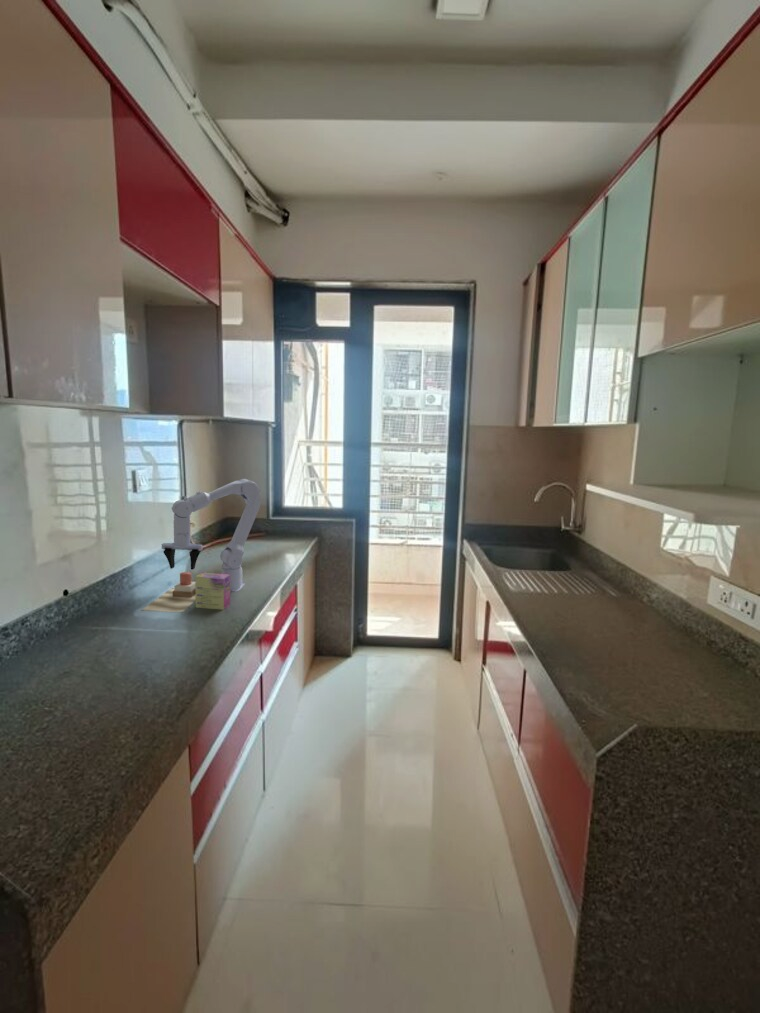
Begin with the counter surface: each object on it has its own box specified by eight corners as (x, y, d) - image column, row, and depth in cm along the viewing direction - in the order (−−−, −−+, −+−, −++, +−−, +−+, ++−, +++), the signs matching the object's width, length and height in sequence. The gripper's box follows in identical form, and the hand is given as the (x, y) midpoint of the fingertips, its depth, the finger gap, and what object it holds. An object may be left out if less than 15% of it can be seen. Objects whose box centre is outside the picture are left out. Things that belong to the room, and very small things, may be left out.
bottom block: (180, 590, 181) (180, 585, 181) (198, 591, 181) (198, 586, 181) (172, 596, 174) (172, 591, 174) (191, 597, 174) (191, 592, 174)
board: (171, 589, 184) (171, 588, 183) (207, 591, 184) (207, 589, 184) (140, 612, 160) (140, 610, 160) (182, 613, 160) (182, 612, 160)
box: (230, 605, 170) (230, 574, 168) (223, 611, 164) (223, 578, 162) (203, 603, 170) (202, 571, 169) (195, 609, 165) (194, 576, 163)
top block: (181, 586, 180) (181, 580, 180) (196, 586, 180) (196, 581, 180) (174, 591, 174) (174, 585, 174) (190, 591, 174) (190, 586, 174)
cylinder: (182, 581, 179) (182, 571, 178) (193, 582, 179) (193, 572, 178) (178, 585, 175) (178, 574, 174) (188, 585, 175) (188, 575, 174)
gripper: (157, 534, 170) (158, 570, 172) (197, 535, 171) (198, 572, 173) (166, 530, 177) (166, 565, 179) (204, 532, 178) (204, 566, 180)
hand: (182, 568), depth 176 cm, fingers open, 7 cm apart
